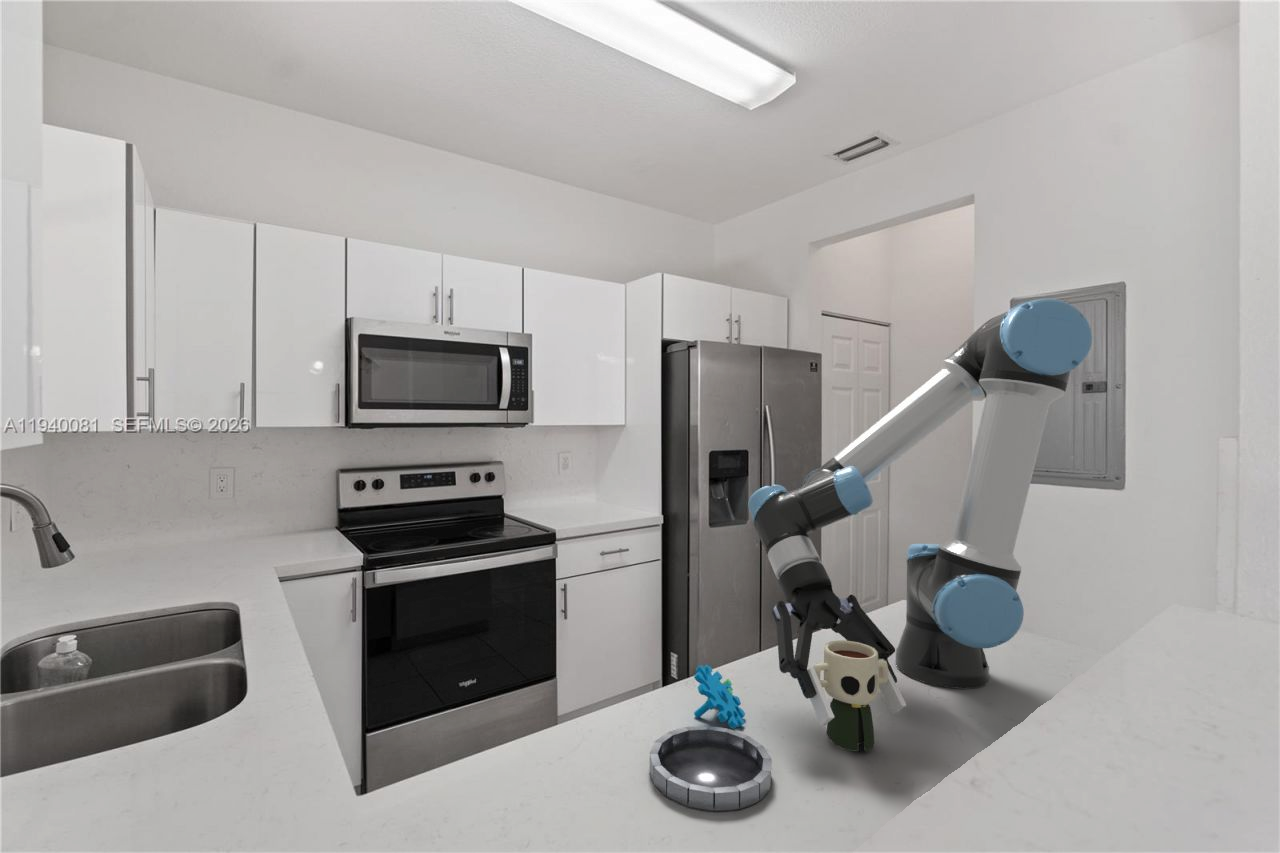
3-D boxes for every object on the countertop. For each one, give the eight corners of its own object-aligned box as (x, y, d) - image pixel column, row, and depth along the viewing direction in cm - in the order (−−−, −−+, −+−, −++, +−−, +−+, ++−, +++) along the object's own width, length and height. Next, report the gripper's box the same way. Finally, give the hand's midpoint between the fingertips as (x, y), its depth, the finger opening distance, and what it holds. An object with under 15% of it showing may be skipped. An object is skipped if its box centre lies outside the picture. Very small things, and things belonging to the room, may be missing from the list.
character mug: (824, 760, 78) (825, 661, 78) (802, 732, 85) (802, 641, 85) (901, 754, 79) (902, 657, 79) (873, 727, 86) (874, 638, 86)
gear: (738, 732, 82) (692, 669, 86) (707, 757, 83) (663, 694, 87) (756, 709, 92) (715, 654, 96) (728, 732, 93) (688, 676, 97)
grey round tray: (748, 739, 83) (748, 723, 83) (789, 806, 68) (790, 787, 68) (642, 745, 81) (642, 729, 81) (661, 816, 66) (661, 797, 66)
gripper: (850, 579, 100) (919, 714, 85) (725, 589, 93) (777, 738, 78) (871, 554, 95) (948, 692, 80) (742, 563, 88) (800, 717, 73)
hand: (864, 715), depth 79 cm, fingers closed on character mug, 11 cm apart
